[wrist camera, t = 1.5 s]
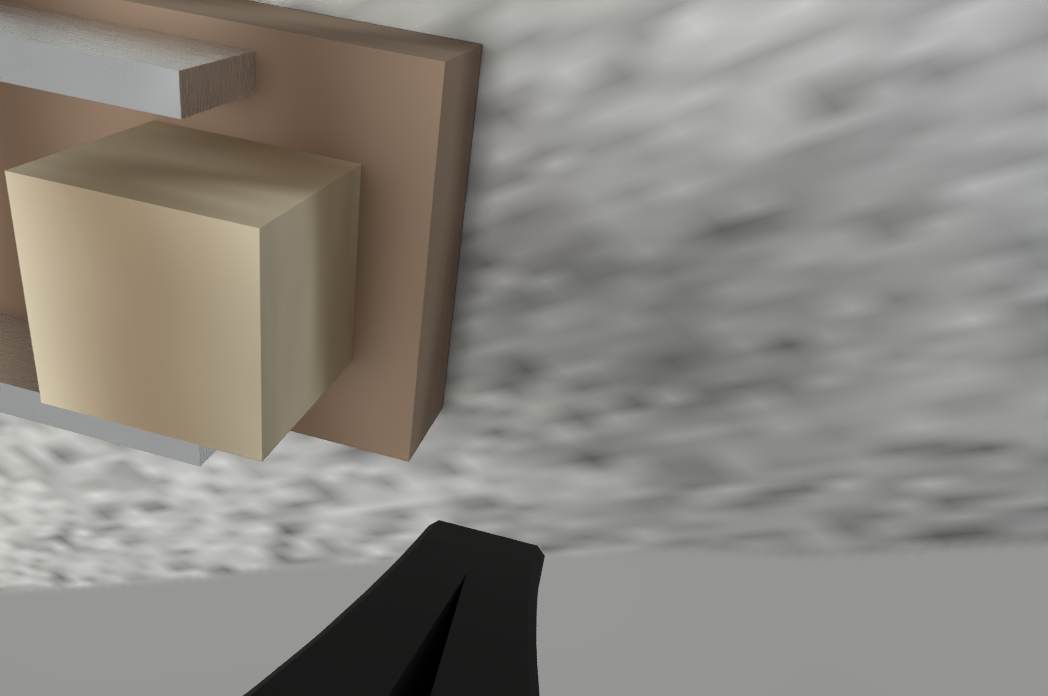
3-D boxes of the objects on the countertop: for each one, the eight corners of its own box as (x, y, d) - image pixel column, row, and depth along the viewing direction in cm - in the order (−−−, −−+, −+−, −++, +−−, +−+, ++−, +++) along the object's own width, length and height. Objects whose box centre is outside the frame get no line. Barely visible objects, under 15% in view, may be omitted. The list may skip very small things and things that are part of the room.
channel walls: (255, 50, 16) (178, 71, 14) (259, 406, 20) (200, 466, 18) (-86, -17, 17) (-207, -7, 15) (-20, 334, 21) (-108, 383, 19)
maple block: (361, 164, 17) (260, 228, 13) (351, 361, 19) (261, 461, 15) (154, 120, 17) (4, 170, 14) (167, 316, 19) (41, 402, 16)
